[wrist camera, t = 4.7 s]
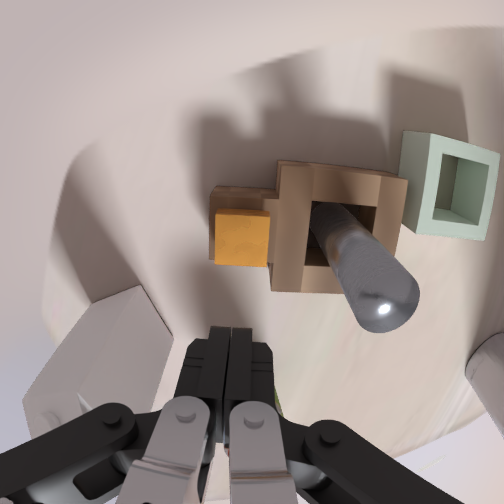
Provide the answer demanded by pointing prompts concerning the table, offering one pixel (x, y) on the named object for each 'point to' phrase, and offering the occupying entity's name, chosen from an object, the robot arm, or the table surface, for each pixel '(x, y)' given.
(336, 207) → the peg
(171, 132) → the table surface
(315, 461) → the robot arm
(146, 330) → the milk carton
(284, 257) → the socket block
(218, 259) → the orange square-headed peg
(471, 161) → the rack
